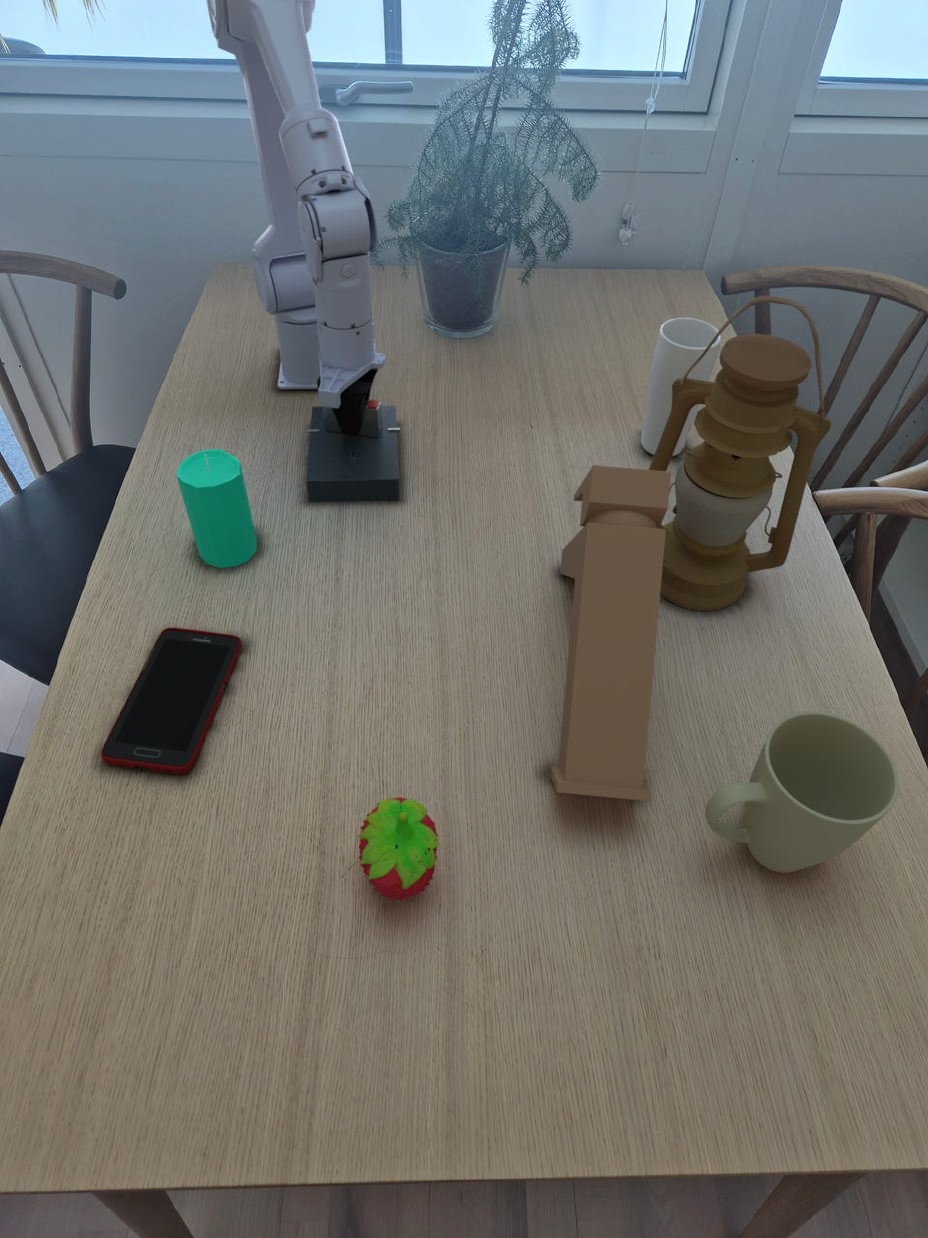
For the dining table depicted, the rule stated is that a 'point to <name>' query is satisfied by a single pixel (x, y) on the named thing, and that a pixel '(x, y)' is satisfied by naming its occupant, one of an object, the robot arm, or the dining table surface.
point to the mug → (809, 792)
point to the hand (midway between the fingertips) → (353, 426)
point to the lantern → (736, 463)
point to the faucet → (612, 632)
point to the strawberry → (398, 848)
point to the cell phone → (173, 701)
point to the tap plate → (353, 462)
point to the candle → (218, 507)
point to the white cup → (676, 374)
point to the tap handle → (369, 419)
